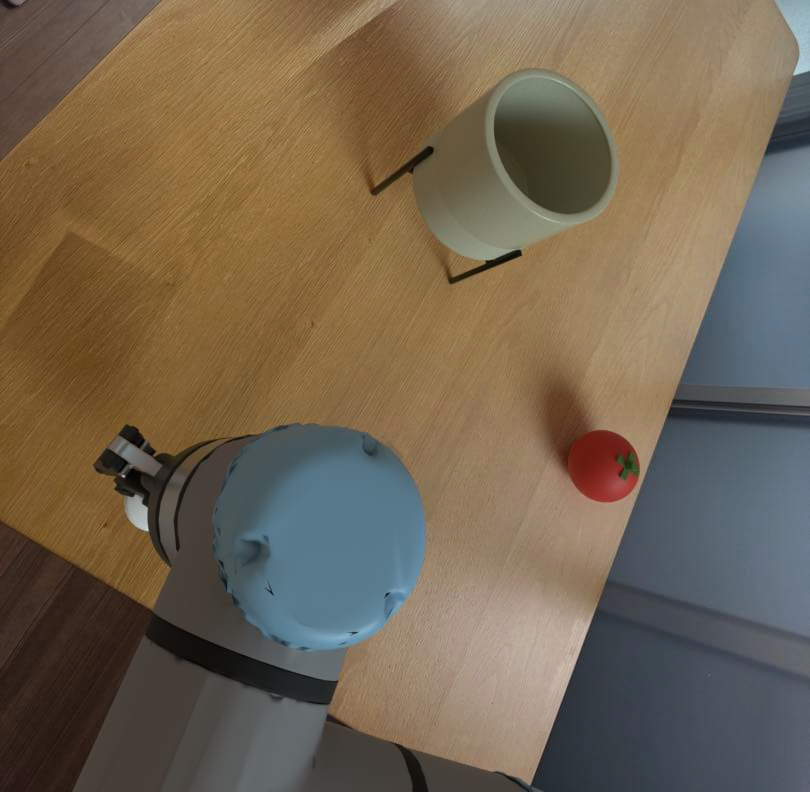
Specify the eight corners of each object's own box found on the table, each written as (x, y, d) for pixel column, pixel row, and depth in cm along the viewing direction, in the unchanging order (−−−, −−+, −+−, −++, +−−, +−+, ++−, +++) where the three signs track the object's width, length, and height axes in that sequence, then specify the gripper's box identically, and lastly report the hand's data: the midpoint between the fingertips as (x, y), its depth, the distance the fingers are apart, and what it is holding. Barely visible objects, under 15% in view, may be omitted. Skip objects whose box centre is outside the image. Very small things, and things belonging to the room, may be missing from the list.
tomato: (590, 514, 86) (647, 519, 78) (543, 475, 84) (596, 477, 76) (615, 455, 90) (671, 455, 82) (570, 417, 88) (623, 413, 80)
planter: (512, 222, 91) (647, 156, 71) (437, 306, 83) (566, 257, 64) (433, 129, 89) (549, 35, 70) (349, 205, 81) (454, 123, 62)
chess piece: (111, 516, 56) (128, 524, 48) (144, 456, 58) (166, 453, 50) (169, 541, 58) (196, 553, 49) (199, 481, 60) (229, 482, 51)
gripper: (396, 540, 42) (273, 517, 61) (139, 349, 38) (97, 390, 58) (325, 672, 38) (219, 603, 58) (33, 475, 34) (27, 473, 54)
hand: (158, 497), depth 58 cm, fingers closed on chess piece, 5 cm apart
